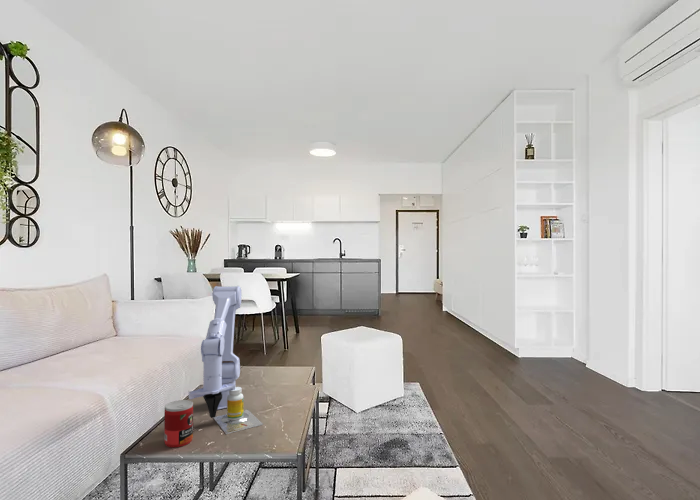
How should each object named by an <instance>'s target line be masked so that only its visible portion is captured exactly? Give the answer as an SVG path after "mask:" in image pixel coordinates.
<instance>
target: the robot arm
mask: <svg viewBox="0 0 700 500" xmlns="http://www.w3.org/2000/svg"><path fill="white" fill-rule="evenodd" d="M211 295H212V301H213V303H214V305H215V310H214V316H213V319H212V320H211V321H210V322H209V324H208V328H207V332H206V335H205V338H204V339H203V340H202V341H201V345H200V355H201V361H202V362H201V363H203V367H202V369H203V371H202V372H203V375H202V376H203V379H202V380H203V382H202V383H203V384H202V385H203V387H201V388H197V389H195V390H191V391H188V399H189V400H193V399H197V398H203V399H204V402H205V403H206V406H207V410H208V415H209V417H210V419H214V417H217V416H216V415H217V413H218V412H217V411H218V410H222V409H227V397H228V395H230V394H229V391H230V390H235V387H237V386H236V381H237V380H238V379H239V378H240V375H241V374H240V373H241V364H240V362H241V361H240V357H239V356H237V355H236V354H235V353H234V338H235V337H234V336H235V323H236V322H235V320H236V313H237V310H238V309H241V305H242V296H243V295H242V287H240V285H237V286H235V285H234V286H233V285H231V286H228V285H227V286H218V285H215V286H214V287H213V290H212V293H211Z"/></svg>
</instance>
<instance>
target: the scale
mask: <svg viewBox="0 0 700 500" xmlns="http://www.w3.org/2000/svg"><path fill="white" fill-rule="evenodd" d="M243 413H244V414H243V417H242V418H241V419H239V420H229V419H227V413H225V414H222V415H217V416H216V417H214V418H213V419H214V421H215V422H216V424H217V425H218V426H219V427H220V428H221V430H222V431H223V432H224V433H225V435H228V434H231V433H236V432H239V431H244V430H248V429H252V428H256V427H259V426H263V425H264V423H263V422H262V421H260V420H259V419H258V417H256V416H255V415H254V414H253V413H252V412H251V411H250V410H249V409H244V412H243Z"/></svg>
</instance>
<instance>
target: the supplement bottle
mask: <svg viewBox="0 0 700 500" xmlns="http://www.w3.org/2000/svg"><path fill="white" fill-rule="evenodd" d="M242 389H243V388H242V387H241V386H236V387H235V390H230V391H229V394H230V395H228V397H227V408H226V414H227V419H229V420H239V419H241V418H242V417H243V414H244V413H243V412H244V410H245V409H244V407H245V405H244V404H245V403H244V402H245V401H244V399H245V398H244V394H243V392H242Z"/></svg>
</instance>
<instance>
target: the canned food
mask: <svg viewBox="0 0 700 500" xmlns="http://www.w3.org/2000/svg"><path fill="white" fill-rule="evenodd" d="M163 412H164V424H163V425H164V426H163V427H164V434H163V435H164V438H163V439H164V445H165V446H166V447H168V448H181V447H184V446H187V445H188V444H190V443H191V442H192V441H193V438H194V402H193V400H190V399H189V400H188V399H179V400H175V401H171V402H168V403H166V404H165V405H164V411H163Z"/></svg>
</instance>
